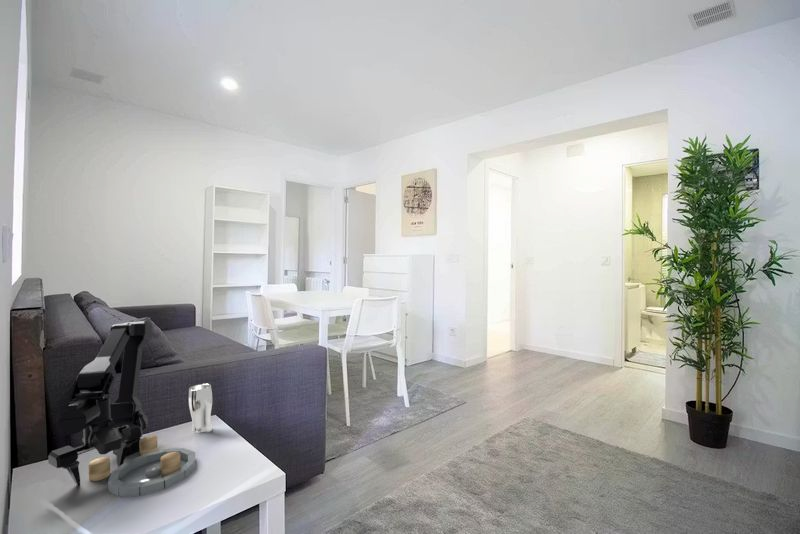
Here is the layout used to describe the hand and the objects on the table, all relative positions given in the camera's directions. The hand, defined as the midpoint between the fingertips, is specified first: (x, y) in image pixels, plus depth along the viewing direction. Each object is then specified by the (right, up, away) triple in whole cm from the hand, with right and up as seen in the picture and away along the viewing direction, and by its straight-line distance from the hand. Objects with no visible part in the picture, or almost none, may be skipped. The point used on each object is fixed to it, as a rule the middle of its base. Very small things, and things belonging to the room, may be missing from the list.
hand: (99, 476), depth 100 cm
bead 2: (+5, -1, +12) cm, 13 cm away
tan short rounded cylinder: (+19, 0, 0) cm, 19 cm away
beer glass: (+13, 0, +27) cm, 30 cm away
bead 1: (0, -1, 0) cm, 1 cm away
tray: (+14, -1, 0) cm, 14 cm away
